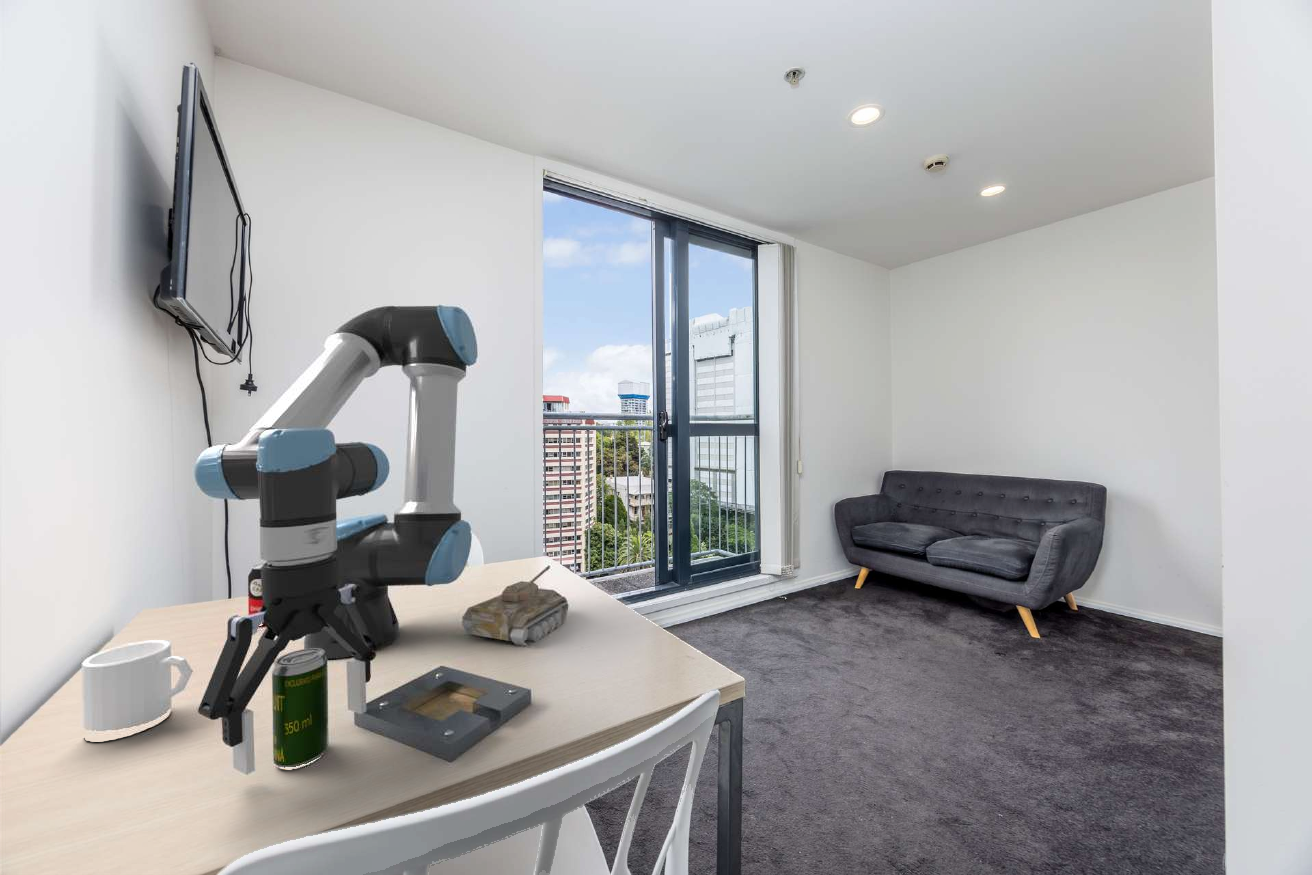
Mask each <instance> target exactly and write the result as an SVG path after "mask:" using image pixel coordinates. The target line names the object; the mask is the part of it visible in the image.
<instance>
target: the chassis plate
mask: <svg viewBox="0 0 1312 875" xmlns="http://www.w3.org/2000/svg"><path fill="white" fill-rule="evenodd" d="M530 705H532V689H529V688H527V687H523V686H519V685H515V684H512V683H508V682H505V681H501V680H497V679H492V678H490V677H485V676H482V675H477V674H474V673H470V672H468V671H467V672H466V671H463V670H459V669H456V668H452V667H449V666H444V665H440V666H438V667H436V668H433V669H432V670H429V671H427V672H426V673H424V674H422V675H420V676H418V677H416V678H414V679H411V680H409V681H408V682H405V683H404V684H402V685H400V686H398V687H396V688H394V689H391V690H390V691H387V692H386V693H383V695H380V696H378V697H376V698H374V699H373V700H370V701H368V702H366V712H364V713H362V714H359V713H356V712H354V711H353V716H354V717H353V718H354V720H353V722H354V723H353V724H355V725H354V726H357V727H359V728H362V729H365V730H368V731H370V732H373V733H375V734H378V735H381V736H383V737H386V738H388V739H390V740H394V741H396V742H398V743H401V744H404V745H406V746H408V747H412V748H414V749H416V750H420V751H421V752H424V753H426V754H429V755H432V756H435V757H437V758H440V759H442V760H445V761H447V762H450V763H452V762H453V761H455V760H456V759H457V758H459V757H460V756H461V755H463V754H464V753H466V752H467V751H468V750H470V748H472V747H474V746H475V745H477V744H478V743H480V742H481V741H482V740H483V739H485V738H486V737H488V736H489V735H490V734H492V733H493V732H494V731H496V730H497V729H499V728H500V727H501V726H503V725H504V724H505V723H507V722H508V721H510V720H511V719H512V718H513V717H515V716H517V715H518V714H519V713H520V712H522V711H523V710H525V709H526V708H527V707H529V706H530Z"/></svg>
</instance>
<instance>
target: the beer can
mask: <svg viewBox="0 0 1312 875" xmlns="http://www.w3.org/2000/svg"><path fill="white" fill-rule="evenodd" d="M273 664H274V666H273V668H272V671H271V689H272V690H271V692H272V698H271V699H272V701H271V702H272V741H273V742H272V753H273V754H272V757H273V758H272V759H273V764H274V765H275V764H276V765H277V766H278V767H284V768H285V767H296V766H300V765H302V764H307V763H309V762H311V761H313V760H315V759H317V758H319V757H320V756H322V754H324V755H325V753H326V751H327V748H328V746H329V740H330V739H329V738H330V736H329V688H328V687H329V684H328V682H329V681H328V678H329V677H328V673H329V672H328V671H329V670H328V659H327V658H326V656H325V651H324V650H323V649H320V648H309V649H304V648H303V649H298V650H294V651H291V652H288V653H286V654H283V655H281V656H280V657H278V658H276V659H275V661H274V662H273ZM324 752H325V753H324ZM322 757H323V756H322ZM276 765H275V766H276Z"/></svg>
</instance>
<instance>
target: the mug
mask: <svg viewBox="0 0 1312 875" xmlns="http://www.w3.org/2000/svg"><path fill="white" fill-rule="evenodd" d="M172 666H173V667H176V668H177V670H178V671H179V672H180V674H181V675H180V676H179V679H178V681H177V683H176V685H175V687H174V688H172ZM193 673H194V671H193V669H192V668H191V666H190V664H189V662H188V660H187V659H186V658H183V657H181V656H177V655H172V644H171V643H170V642H169V641H167V640H162V639H158V640H157V639H153V640H151V639H150V640H145V641H136V642H132V643H125V644H123V645H119V646H118V645H117V646H115V647H111V648H108V649H105V650H102V651H100V652H97V653H94V654H92V655H90V656H88V657H87V658H86V659H84V660H83V662H82V663H81V676H82V677H81V687H82V688H81V689H82V691H81V692H82V694H81V697H82V698H81V699H82V729H83V728H85V729H86V730H92V731H94V730H96V731H106V730H119V729H123V728H130V727H133V726H139V725H141V724H145V723H148V722H150V721H153V720H155V719H157V718H158V717H161V716H162V715H164V714H165V713H167V711H168V710H169V709H170V708H171V709H172V697H175V696H176V695H178V694H179V693H181V692H183V691H184V690H185V689H186V687H187V684H188V682H189V680H190V678H191V676H192V674H193Z"/></svg>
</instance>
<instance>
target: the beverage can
mask: <svg viewBox="0 0 1312 875" xmlns="http://www.w3.org/2000/svg"><path fill="white" fill-rule="evenodd" d="M265 563H266V562H263V563H258V564H255V565H252V566H251V571H250V572H249V574H248V577H247V590H248V591H247V595H248V598H247V599H248V605H247V606H248V607H247V608H248V610H247V611H248V615H252V614H256V613H259V612H260V610H261V608H262V605H263V598H262V592H261V567H262V566H263V565H264V564H265Z"/></svg>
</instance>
